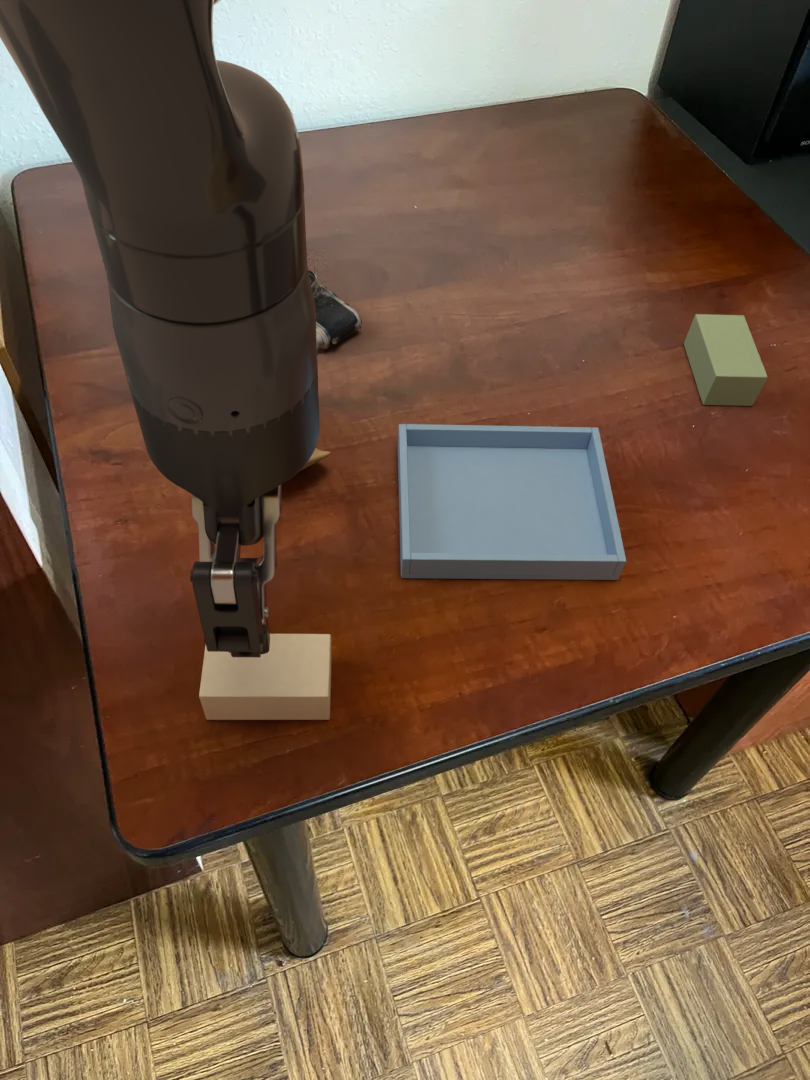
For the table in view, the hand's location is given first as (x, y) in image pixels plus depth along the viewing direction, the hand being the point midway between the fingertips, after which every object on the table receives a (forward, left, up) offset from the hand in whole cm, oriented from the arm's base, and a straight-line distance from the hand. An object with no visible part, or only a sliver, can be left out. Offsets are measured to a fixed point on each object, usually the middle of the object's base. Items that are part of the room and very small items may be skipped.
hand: (255, 579), depth 47 cm
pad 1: (0, 0, -13) cm, 13 cm away
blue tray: (-17, -15, -13) cm, 26 cm away
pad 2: (-38, -31, -13) cm, 51 cm away
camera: (-1, -37, -13) cm, 40 cm away
